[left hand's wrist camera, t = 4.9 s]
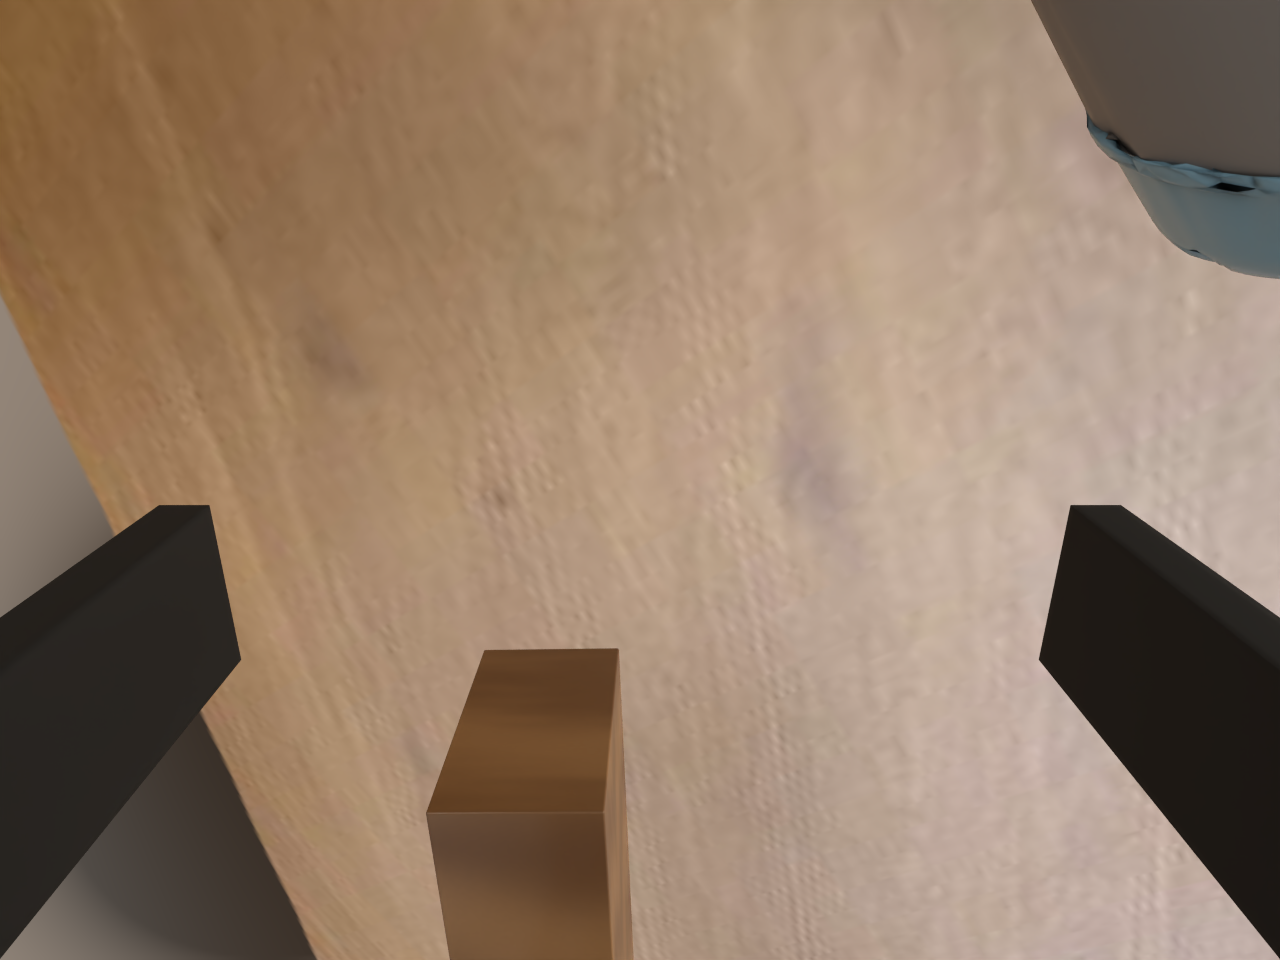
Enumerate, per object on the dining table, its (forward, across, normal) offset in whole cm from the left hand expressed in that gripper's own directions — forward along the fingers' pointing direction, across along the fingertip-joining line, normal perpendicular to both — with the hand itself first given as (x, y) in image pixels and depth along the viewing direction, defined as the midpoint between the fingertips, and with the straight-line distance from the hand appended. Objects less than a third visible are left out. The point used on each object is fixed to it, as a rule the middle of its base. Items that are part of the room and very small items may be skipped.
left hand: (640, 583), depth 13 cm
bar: (+17, -3, -26) cm, 31 cm away
